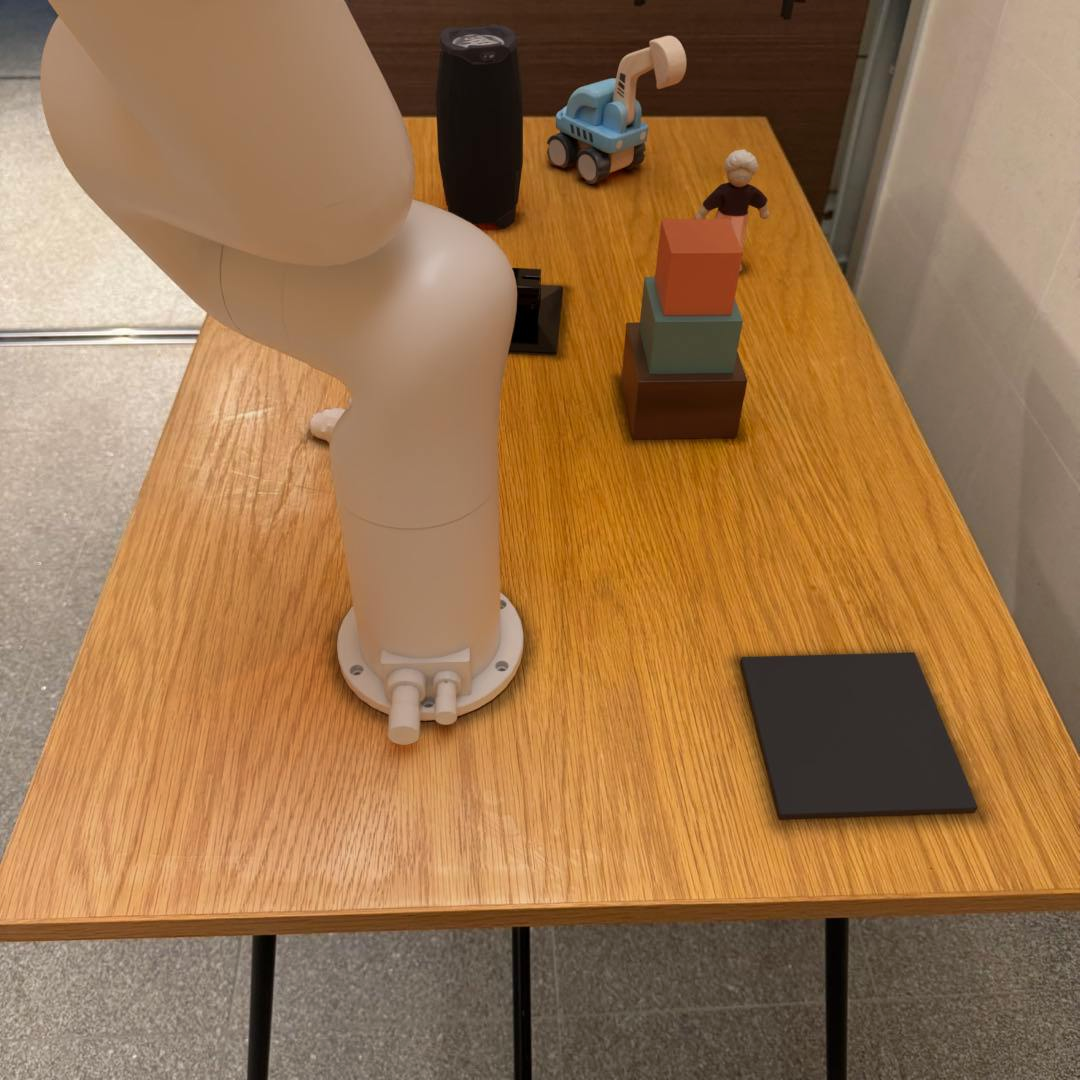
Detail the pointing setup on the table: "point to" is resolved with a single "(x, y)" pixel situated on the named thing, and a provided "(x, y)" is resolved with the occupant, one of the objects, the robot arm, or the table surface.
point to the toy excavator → (613, 114)
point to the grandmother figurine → (736, 194)
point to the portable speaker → (480, 123)
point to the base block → (679, 398)
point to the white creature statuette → (326, 422)
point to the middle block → (687, 338)
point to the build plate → (535, 314)
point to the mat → (853, 737)
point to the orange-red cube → (697, 267)
